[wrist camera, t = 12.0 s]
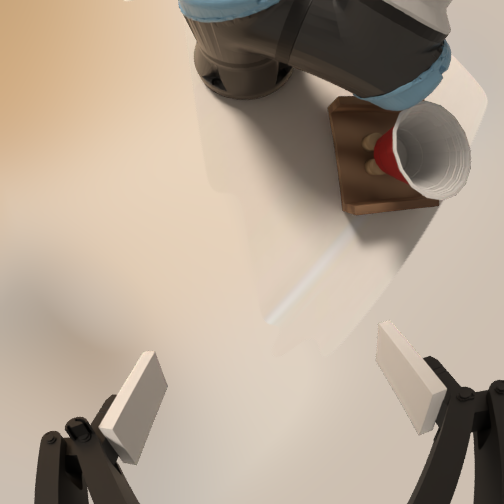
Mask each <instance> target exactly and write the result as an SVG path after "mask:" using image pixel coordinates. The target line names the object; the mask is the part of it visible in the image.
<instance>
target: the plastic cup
mask: <svg viewBox="0 0 504 504" xmlns="http://www.w3.org/2000/svg"><path fill="white" fill-rule="evenodd" d="M374 158H375V162H376V164H377V165H378V167H379V168H380V169H381V170H382V171H383V172H385V173H386V174H388V175H390V176H392V177H394V178H395V179H397V180H400V181H402V182H404V183H406V184H408V185H410V186H411V187H412V188H414V189H415V190H416V191H418V192H419V193H421V194H422V195H424V196H425V197H426V198H431V199H437V200H445V199H447V198H450V197H453V196H455V195H457V193H458V192H459V191H460V190H461V189H462V188H463V186H464V185H465V184H466V181H467V178H468V175H469V172H470V169H471V155H470V147H469V144H468V140H467V137H466V134H465V132H464V130H463V129H462V127H461V125H460V124H459V122H458V121H457V119H456V118H455V117H454V116H453V115H452V114H451V113H450V112H448V111H447V110H446V109H445V108H443V107H442V106H441V105H438V104H435V103H432V102H428V101H421V102H419V103H418V104H416V105H415V106H413V107H411V108H408V109H405V110H403V111H401V112H400V113H399V116H398V118H397V121H396V123H395V125H394V126H393V127H392V128H391V129H390V130H388V131H387V132H386V133H385V134H384V135H382V136H381V137H380V138H379V139H378V140H377V142H376V144H375V147H374Z"/></svg>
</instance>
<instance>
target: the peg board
mask: <svg viewBox="0 0 504 504" xmlns="http://www.w3.org/2000/svg"><path fill="white" fill-rule="evenodd" d="M422 101H425V100H422ZM401 111H403V110H401ZM401 111H392V110H386V109H383V108H381V107H379V106H377V105H375V104H373V103H371V102H369V101H365V100H361V99H359V98H357V97H355V96H338V97H337V98H336V99H335V100H334V101H333V103H332V104H331V105H330V106H329V107H328V113H329V118H330V124H331V129H332V135H333V141H334V148H335V154H336V161H337V168H338V176H339V183H340V192H341V201H342V210H343V211H345V212H348V213H351V214H354V215H362V214H371V213H379V212H388V211H397V210H406V209H415V208H425V207H434V206H439V200H437V199H431V198H426V197H425V196H422V194H421V193H419V192H418V191H416V190H415V189H414V188H412V187H411V186H410V185H408V184H406V183H404V182H402V181H400V180H397V179H395V178H394V177H392V176H390V175H388V174H386V173H385V172H383V171H382V170H381V169H380V168H379V167H378V165H377V164H376V162H375V158H374V147H375V144H376V142H377V140H378V139H379V138H380V137H381V136H382V135H384V134H385V133H386V132H387V131H388V130H390V129H391V128H392V127H393V126H394V125H395V123H396V121H397V118H398V116H399V113H400V112H401Z"/></svg>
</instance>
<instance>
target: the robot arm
mask: <svg viewBox="0 0 504 504" xmlns="http://www.w3.org/2000/svg"><path fill="white" fill-rule="evenodd" d="M178 1H179V8H180V9H181V12H182V13H183V15H184V17H185V19H186V21H187V23H188V25H189V27H190V29H191V31H192V32H193V34H194V36H195V38H196V40H197V43H196V46H195V51H194V62H195V67H196V69H197V72H198V74H199V75H200V77H201V79H202V80H203V82H204V83H205V84H206V85H207V86H208V87H209V88H210V89H211V90H213V91H214V92H216V93H218V94H220V95H222V96H225V97H228V98H233V99H240V100H247V99H256V98H260V97H264V96H266V95H269V94H271V93H273V92H274V91H276V90H278V89H279V88H280V87H281V86H283V85H284V84H285V82H286V81H287V80H288V79H289V77H290V75H291V73H292V71H293V68H294V67H295V68H297V69H300V70H302V71H305V72H307V73H310V74H312V75H315V76H317V77H319V78H322V79H324V80H326V81H328V82H330V83H333V84H335V85H337V86H339V87H341V88H343V89H345V90H347V91H349V92H351V93H353V95H354V96H355V97H357V98H359V99H361V100H365V101H369V102H371V103H373V104H375V105H377V106H379V107H381V108H383V109H386V110H392V111H401V110H405V109H408V108H411V107H413V106H415V105H416V104H418V103H419V102H421V101H422V100H424V99H425V98H426V97H427V96H428V95H429V94H430V93H432V92H433V91H434V89H435V88H436V87H437V86H438V85H439V83H440V82H441V80H442V79H443V76H442V73H444V72H445V71H447V70H448V67H449V64H450V61H451V50H450V47H449V45H448V43H447V41H446V40H445V38H446V37H447V36H448V34H449V33H450V31H451V29H450V25H449V21H448V18H447V14H446V8H447V7H448V5H449V4H450V3H451V1H452V0H178ZM376 362H377V364H378V365H379V367H380V369H381V370H382V372H383V374H384V375H385V377H386V379H387V380H388V382H389V384H390V386H391V387H392V389H393V391H394V392H395V394H396V396H397V397H398V399H399V401H400V403H401V405H402V406H403V408H404V410H405V412H406V413H407V415H408V417H409V418H410V420H411V422H412V424H413V426H414V428H415V429H416V431H417V433H418V435H421V434H424V433H426V432H429V431H431V430H433V427H434V424H435V422H436V423H437V425H438V427H439V428H438V431H437V433H436V436H435V438H434V443H433V446H432V448H431V451H430V454H429V457H428V459H427V462H426V464H425V466H424V469H423V471H422V474H421V476H420V478H419V480H418V483H417V485H416V487H415V489H414V491H413V493H412V495H411V497H410V500H409V502H408V503H407V504H450V502H451V500H452V497H453V494H454V491H455V489H456V486H457V483H458V479H459V476H460V473H461V470H462V466H463V463H464V459H465V455H466V451H467V447H468V443H469V439H470V433H471V432H473V436H474V455H475V487H474V504H504V380H497V381H494V382H493V383H492V384H491V386H490V387H489V390H486V391H480V392H475V391H474V390H472V389H471V388H468V387H461V386H460V385H459V384H458V383H457V382H456V381H455V379H454V378H453V377H452V376H451V375H450V374H449V372H447V371H446V369H445V368H444V367H443V366H442V364H441V363H440V362H439V361H438V360H437V359H435V358H433V357H431V356H428V357H425V358H422V357H421V356H420V355H419V354H418V352H417V351H416V350H415V349H414V348H413V346H412V345H411V344H410V343H409V342H408V341H407V339H406V338H405V337H404V336H403V335H402V334H401V332H400V331H399V330H398V329H397V328H396V327H395V326H394V324H392V322H391V321H390V320H389V321H385V322H380V323H378V338H377V353H376ZM167 387H168V385H167V383H166V380H165V378H164V375H163V372H162V370H161V367H160V364H159V361H158V359H157V356H156V353H155V351H149V352H143V354H142V355H141V357H140V358H139V360H138V362H137V363H136V365H135V367H134V368H133V370H132V371H131V373H130V375H129V377H128V378H127V380H126V381H125V383H124V385H123V386H122V388H121V390H120V391H119V393H118V395H111V396H110V397H109V398H108V399H107V400H106V401H105V403H104V404H103V406H102V408H101V409H100V410H99V412H98V414H97V415H96V417H95V419H94V420H93V422H92V423H91V425H90V424H89V422H88V421H87V420H86V419H85V418H83V417H76V418H73V419H71V420H69V421H68V422H67V424H66V426H65V431H66V432H67V433H68V435H69V436H70V438H63V437H62V436H61V435H60V433H59V432H57V431H50V432H48V433H46V434H45V435H44V436H43V437H42V439H41V443H40V450H39V457H38V465H37V474H36V484H35V502H34V504H89V502H88V490H89V492H90V495H91V497H92V500H93V502H94V504H140V503H139V502H138V500H137V498H136V497H135V495H134V493H133V491H132V489H131V487H130V486H129V484H128V482H127V480H126V478H125V476H124V474H123V472H122V470H121V468H120V466H119V464H118V463H117V462H116V461H117V458H118V456H119V457H120V459H121V460H122V461H123V462H124V463H128V464H134V465H137V463H138V461H139V458H140V455H141V453H142V450H143V448H144V445H145V442H146V440H147V437H148V435H149V432H150V429H151V427H152V425H153V422H154V420H155V417H156V415H157V412H158V410H159V407H160V405H161V402H162V399H163V397H164V394H165V392H166V390H167ZM87 487H88V490H87Z"/></svg>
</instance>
